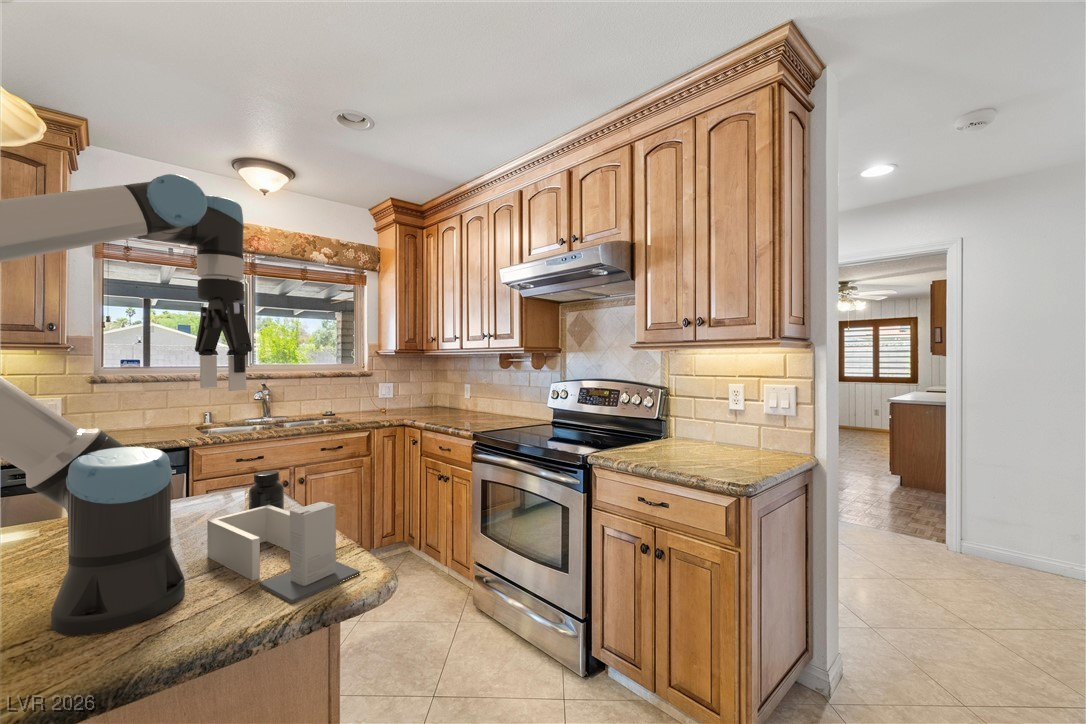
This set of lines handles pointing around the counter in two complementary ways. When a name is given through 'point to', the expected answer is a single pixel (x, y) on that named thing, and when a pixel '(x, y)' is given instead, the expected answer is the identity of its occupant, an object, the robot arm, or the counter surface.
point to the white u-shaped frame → (247, 537)
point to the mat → (298, 592)
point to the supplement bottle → (266, 490)
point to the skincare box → (312, 542)
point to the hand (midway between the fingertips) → (222, 389)
